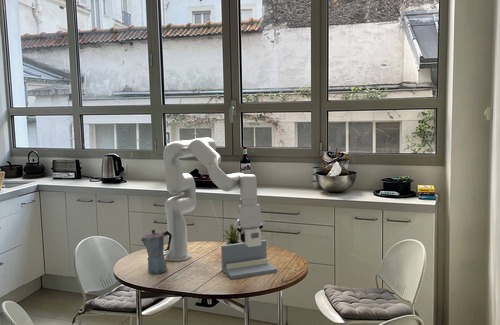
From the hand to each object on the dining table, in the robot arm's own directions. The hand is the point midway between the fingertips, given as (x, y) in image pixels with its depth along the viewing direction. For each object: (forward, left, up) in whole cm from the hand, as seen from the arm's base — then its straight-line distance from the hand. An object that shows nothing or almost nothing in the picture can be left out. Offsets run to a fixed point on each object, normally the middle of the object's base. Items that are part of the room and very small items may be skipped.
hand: (250, 240), depth 214 cm
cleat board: (0, +3, -15) cm, 15 cm away
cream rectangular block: (0, 0, -1) cm, 1 cm away
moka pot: (-39, +20, -15) cm, 46 cm away
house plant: (+1, +31, -15) cm, 35 cm away
